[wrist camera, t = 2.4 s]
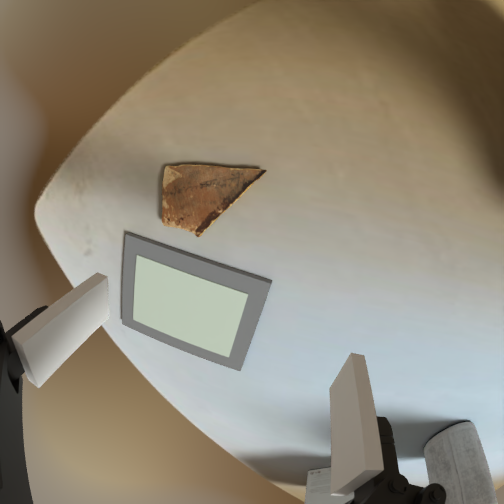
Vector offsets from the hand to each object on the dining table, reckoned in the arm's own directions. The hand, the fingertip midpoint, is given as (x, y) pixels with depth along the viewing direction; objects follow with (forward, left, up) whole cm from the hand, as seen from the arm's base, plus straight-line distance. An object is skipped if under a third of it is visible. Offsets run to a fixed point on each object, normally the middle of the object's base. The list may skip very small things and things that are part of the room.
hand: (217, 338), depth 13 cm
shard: (-4, -8, -18) cm, 20 cm away
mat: (+11, -7, -17) cm, 22 cm away
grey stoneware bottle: (+28, +49, -17) cm, 59 cm away
